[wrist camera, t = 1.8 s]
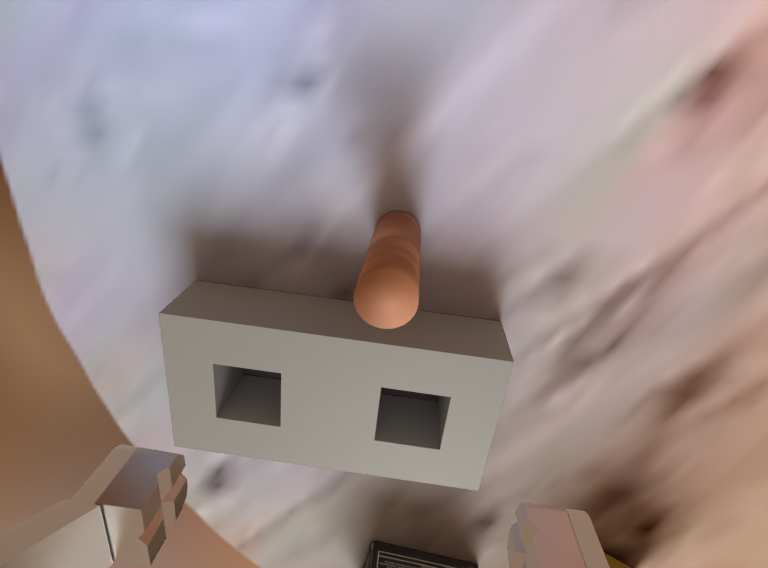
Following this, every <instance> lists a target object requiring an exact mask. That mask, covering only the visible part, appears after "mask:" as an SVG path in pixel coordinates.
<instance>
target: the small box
mask: <svg viewBox="0 0 768 568" xmlns="http://www.w3.org/2000/svg"><path fill="white" fill-rule="evenodd" d="M369 549H370V550H369V552H368V556H367V558H366V562H365V563H364V568H478V565H477V564H473V563H469V562H465V561H460V560H456V559H451V558H447V557H442V556H438V555H433V554H429V553H424V552H420V551H415V550H411V549H407V548H402V547H398V546H393V545H389V544H385V543H380V542H375V541H374V542H372V543H371V544H370V548H369Z"/></svg>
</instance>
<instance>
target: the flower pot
mask: <svg viewBox="0 0 768 568" xmlns="http://www.w3.org/2000/svg"><path fill="white" fill-rule="evenodd" d="M604 555H605V557H606V560H607V562H608V565H609V567H610V568H631V567H629V566H628V565H626V564H624V563H622V562H620V561H618V560H617V559H615V558H613V557H611V556H610V555H608V554H606V553H604Z"/></svg>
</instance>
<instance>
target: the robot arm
mask: <svg viewBox="0 0 768 568" xmlns="http://www.w3.org/2000/svg"><path fill="white" fill-rule="evenodd" d="M184 467H185V459H184V455H181V454H176V453H170V452H164V451H158V450H152V449H146V448H139V447H133V446H127V445H120V446H118V447H116V448H115V449H114V450H112V452H111V453H110V454H109V455H108V457H107V458H106V459H105V460H104V461H103V462H102V464H101V465H100V466H99V467H98V468H97V469H96V471H95V472H94V473H93V474H92V475H91V476H90V478H89V479H88V480H87V482H85V484H84V485H83V486H82V487H81V488H80V489H79V491H78V492H77V493H76V494H75V496H74V497H73V498H72V499H71V500H70V501H68V500H63V501H61V502H59V503H57V504H55V505H53V506H52V507H50V508H48V509H46V510H44V511H42V512H41V513H39V514H37V515H35V516H33V517H31V518H30V519H28V520H26V521H24V522H22V523H20V524H18V525H16V526H15V527H13V528H11V529H9V530H7V531H5V532H3V533H1V534H0V568H108V567H109V566H111V565H112V564H113V561H115V562H124V563H132V564H141V565H149V566H151V564H152V562H153V560H154V559H155V557H156V555H157V553H158V551H159V550H160V548H161V546H162V545H163V543H164V541H165V539H166V534H165V528H166V527H167V526H169V525H170V524H172V523H173V522H174V521H176V520H177V518H178V516H179V514H180V512H181V510H182V508H183V505H184V502H185V499H186V496H187V487H188V486H187V479H186V477H185V476H184V475H183V474H182V473H181V472H182V470H183V469H184ZM516 517H517V522H516V523H515V524H513V525H512V526H511V529H510V532H509V536H508V547H507V549H508V560H509V566H510V568H610V567H609V565H608V562H607V560H606V557H605V555H604V552H603V549H602V547H601V544H600V542H599V539H598V537H597V534H596V532H595V529H594V526H593V524H592V521H591V519H590V516H589V515H588V514H587V512H586V511H581V510H573V509H566V508H561V507H554V506H546V505H538V504H530V503H523V502H521V503H520V504H519V505H518V508H517V510H516Z"/></svg>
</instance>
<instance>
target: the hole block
mask: <svg viewBox="0 0 768 568" xmlns="http://www.w3.org/2000/svg"><path fill="white" fill-rule="evenodd" d="M159 319H160V328H161V336H162V345H163V353H164V361H165V370H166V378H167V387H168V395H169V404H170V412H171V420H172V429H173V437H174V446H176V447H183V448H190V449H197V450H204V451H210V452H217V453H224V454H231V455H238V456H245V457H251V458H258V459H265V460H272V461H279V462H285V463H292V464H299V465H306V466H313V467H320V468H326V469H333V470H340V471H347V472H354V473H360V474H367V475H374V476H381V477H388V478H395V479H401V480H408V481H415V482H422V483H429V484H435V485H442V486H449V487H456V488H463V489H470V490H476V491H478V490H479V486H480V483H481V479H482V475H483V472H484V468H485V464H486V461H487V457H488V454H489V450H490V446H491V443H492V439H493V435H494V432H495V428H496V425H497V421H498V417H499V414H500V410H501V406H502V403H503V399H504V395H505V392H506V388H507V385H508V381H509V377H510V374H511V370H512V366H513V363H514V361H513V358H512V355H511V352H510V348H509V345H508V342H507V339H506V336H505V332H504V329H503V326H502V323H501V321H494V320H486V319H479V318H471V317H464V316H456V315H449V314H442V313H434V312H427V311H419V310H417V311H416V313H415V315H414V316H413V318H412V319H411V320H410V321H409V322H407V323H406V324H404V325H402V326H400V327H397V328H392V329H382V328H378V327H374V326H372V325H370V324H368V323H367V322H366V321H364V320H363V319H362V318H361V317H360V316H359V314H358V313H357V311H356V309H355V306H354V302H352V301H345V300H338V299H330V298H323V297H315V296H308V295H300V294H293V293H286V292H278V291H271V290H263V289H256V288H248V287H241V286H234V285H226V284H219V283H211V282H204V281H195V282H194V283H193V284H192V285H190V286H189V287H188V288H187V289H186V290H185V291H184V292H182V293H181V294H180V295H179V296H178V297H177V298H176V299H174V300H173V301H172V302H171V303H170V304H169V305H168V306H166V307H165V308H164V309H163V310H162V311H161V312H159ZM243 368H247V369H254V370H261V371H268V372H275V373H281V380H279V379H271V378H264V377H257V376H250V375H243ZM382 388H389V389H396V390H404V391H411V392H418V393H425V394H432V395H439V399H438V402H435V401H428V400H420V399H413V398H406V397H399V396H392V395H385V394H381V389H382Z"/></svg>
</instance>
